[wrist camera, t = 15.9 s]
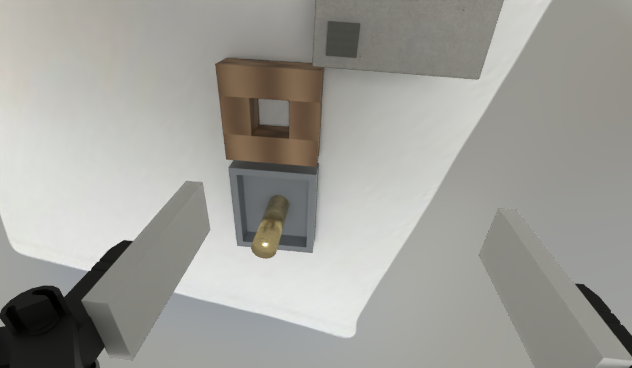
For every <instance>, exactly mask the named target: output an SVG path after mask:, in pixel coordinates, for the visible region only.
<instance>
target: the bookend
mask: <svg viewBox="0 0 632 368" xmlns="http://www.w3.org/2000/svg"><path fill="white" fill-rule="evenodd" d="M503 1H504V0H316V4H315V24H314V43H313V63H312V66H316V67H328V68H341V69H353V70H366V71H378V72H390V73H403V74H415V75H428V76H440V77H453V78H465V79H479V77H480V74H481V71H482V68H483V65H484V62H485V58H486V55H487V52H488V49H489V46H490V43H491V39H492V36H493V33H494V30H495V27H496V24H497V20H498V17H499V14H500V11H501V8H502V5H503Z"/></svg>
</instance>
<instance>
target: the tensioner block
mask: <svg viewBox="0 0 632 368" xmlns="http://www.w3.org/2000/svg"><path fill="white" fill-rule="evenodd" d="M215 65H216V74H217V82H218V91H219V100H220V109H221V118H222V126H223V135H224V144H225V153H226V159H227V160H239V161H252V162H264V163H277V164H289V165H301V166H314V167H317V162H318V157H319V148H320V129H321V110H322V92H323V73H324V67H316V66H312V63H300V62H284V61H268V60H253V59H237V58H226V59H224V60H222V61H220V62H218V63H216V64H215ZM258 99H272V100H286V101H289V127H281V126H267V125H259V112H258Z"/></svg>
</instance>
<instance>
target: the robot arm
mask: <svg viewBox="0 0 632 368" xmlns="http://www.w3.org/2000/svg"><path fill="white" fill-rule="evenodd" d="M209 231H210V225H209V219H208V212H207V206H206V200H205V194H204V188H203V182H192V181H186V182H185V183H184V184H183V185H182V186H181V188H180V189H179V190H178V191H177V192H176V193H175V194H174V196H173V197H172V198H171V199H170V200H169V201H168V202H167V204H166V205H165V206H164V207H163V208H162V209H161V210H160V211H159V213H158V214H157V215H156V216H155V217H154V218H153V219H152V221H151V222H150V223H149V224H148V225H147V226H146V227H145V229H144V230H143V231H142V232H141V233H140V234H139V235H138V237H137V238H136V239H135V240H134V241H126V240H123V241H122V242H120V243H119V244H117V245H115V246H114V247H112V248H111V249H109V250H108V251H107V253H106V254H105V255H104V256H103V257H102V258H101V259H100V261H99V262H97V263H96V264H95V265H94V266H93V267H92V268H91V271H89V272H88V273H87V274H86V275H85V276H84V277H83V278H82V279H81V280H80V281H79V282H78V283H77V284H76V285H75V286H74V288H73V289H72V290H71V291H70V292H69V293H68V294H67V295H66V296H65V297H63V295H62V293H61V291H60V289H59V288H57V287H54V286H40V287H36V288H32V289H30V290H27V291H25V292H23V293H21V294H19V295H18V296H16V297H15V298H13V299H12V300H10V301H9V303H7V304H6V305H5V306H4V307H3V308H2V310H1V313H0V319H1V320H2V322H3V323H4V324H5V327H0V368H100V367H99V362H98V360H97V357H98V356H99V354H100V353H101V351H102V350H103V349H104V347H105V349H106V351H107V353H108V355H109V357H110V358H116V359H124V360H133V359H134V358H135V356H136V354H137V352H138V351H139V349H140V347H141V346H142V344H143V342H144V341H145V339H146V337H147V336H148V334H149V332H150V331H151V329H152V327H153V325H154V324H155V322H156V320H157V319H158V317H159V315H160V314H161V312H162V310H163V309H164V307H165V305H166V304H167V302H168V300H169V299H170V297H171V295H172V293H173V292H174V290H175V288H176V287H177V285H178V283H179V282H180V280H181V278H182V277H183V275H184V273H185V272H186V270H187V268H188V267H189V265H190V263H191V261H192V260H193V258H194V256H195V255H196V253H197V251H198V250H199V248H200V246H201V245H202V243H203V241H204V240H205V238H206V236H207V234H208V233H209ZM479 257H480V259H481V261H482V263H483V265H484V267H485V269H486V271H487V273H488V275H489V277H490V279H491V281H492V283H493V285H494V287H495V289H496V291H497V293H498V295H499V297H500V299H501V301H502V303H503V305H504V307H505V309H506V311H507V313H508V315H509V317H510V319H511V321H512V323H513V325H514V327H515V329H516V331H517V333H518V335H519V337H520V339H521V341H522V343H523V345H524V347H525V349H526V351H527V353H528V355H529V357H530V359H531V361H532V363H533V365H534V367H535V368H632V335H631V334H630V333H629V332H628V331H627V329H626V328H625V327H624V326H623V325H621V324H620V321H619V320H618V319H617V317H616V316H615V315H614V314H612V313H611V310H610V309H609V308H608V307H607V305H606V304H605V303H604V302H603V301H602V299H601V298H600V297H599V296H598V295H596V294H595V293H594V292H593V291H591V290H590V289H589V288H587V287H586V286H585V285H584V284H575V283H574V282H573V281H572V280H571V278H570V277H569V276H568V275H567V273H566V272H565V271H564V270H563V268H562V267H561V266H560V264H558V262H557V261H556V260H555V258H554V257H553V255H552V254H551V253H550V252H549V250H548V249H547V248H546V247H545V246H544V244H543V243H542V241H541V240H540V239H539V238H538V236H537V235H536V234H535V233H534V231H533V230H532V229H531V228H530V226H529V225H528V224H527V222H526V221H525V220H524V218H523V217H522V216H521V215H520V214H519V212H518V211H517V210H515V209H505V208H498V210H497V212H496V215H495V217H494V220H493V222H492V224H491V227H490V229H489V231H488V234H487V236H486V239H485V241H484V244H483V246H482V249H481V251H480V253H479Z"/></svg>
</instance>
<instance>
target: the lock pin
mask: <svg viewBox="0 0 632 368" xmlns="http://www.w3.org/2000/svg"><path fill="white" fill-rule="evenodd" d="M288 209H289V201H288V200H287V199H286V198H285V197H284V196H281V195H275V196H273V197H271V198H270V200H269V202H268V205H267V207H266V210H265V212H264V215H263V217H262V220H261V222H260V225H259V227H258V230H257V233H256V235H255V238H254V240H253V243H252V245H251V249H252V252H253V253H254V254H255V255H256V256H258V257H260V258H271V257H273V256H274V255H275V254H276V251H277V247H278V244H279V240H280V237H281V233H282V230H283V227H284V223H285V220H286V216H287V213H288Z"/></svg>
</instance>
